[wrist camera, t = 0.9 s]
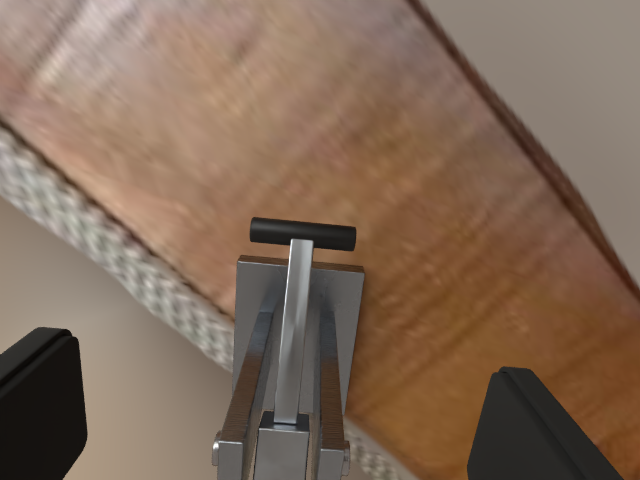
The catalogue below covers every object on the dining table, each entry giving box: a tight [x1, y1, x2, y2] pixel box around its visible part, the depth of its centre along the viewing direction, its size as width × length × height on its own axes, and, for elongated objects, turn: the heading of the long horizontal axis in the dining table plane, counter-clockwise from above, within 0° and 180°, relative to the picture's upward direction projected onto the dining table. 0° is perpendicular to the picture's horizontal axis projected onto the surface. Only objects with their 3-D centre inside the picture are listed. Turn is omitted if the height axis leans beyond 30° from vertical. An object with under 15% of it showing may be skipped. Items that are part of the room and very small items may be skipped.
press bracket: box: [212, 255, 365, 480], centre depth 22 cm, size 11×8×12 cm
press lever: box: [250, 217, 356, 480], centre depth 18 cm, size 12×5×2 cm, turn 176°
